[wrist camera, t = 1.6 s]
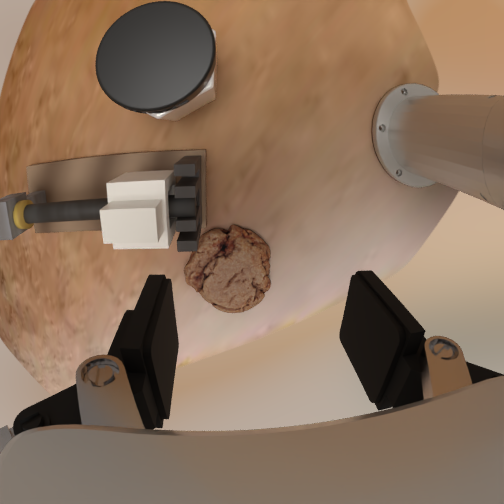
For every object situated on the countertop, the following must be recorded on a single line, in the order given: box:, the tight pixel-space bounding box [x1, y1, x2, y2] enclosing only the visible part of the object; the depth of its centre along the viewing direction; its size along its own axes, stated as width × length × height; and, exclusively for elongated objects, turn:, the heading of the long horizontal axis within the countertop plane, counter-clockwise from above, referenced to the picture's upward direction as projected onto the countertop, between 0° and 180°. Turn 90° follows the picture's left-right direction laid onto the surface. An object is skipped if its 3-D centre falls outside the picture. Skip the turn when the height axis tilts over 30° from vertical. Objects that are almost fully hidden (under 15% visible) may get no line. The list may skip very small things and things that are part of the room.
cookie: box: [184, 225, 271, 313], centre depth 34 cm, size 10×11×3 cm
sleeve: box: [99, 170, 177, 249], centre depth 23 cm, size 4×5×8 cm
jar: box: [96, 1, 217, 121], centre depth 21 cm, size 9×8×12 cm
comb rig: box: [0, 149, 207, 252], centre depth 26 cm, size 21×8×9 cm, turn 88°
